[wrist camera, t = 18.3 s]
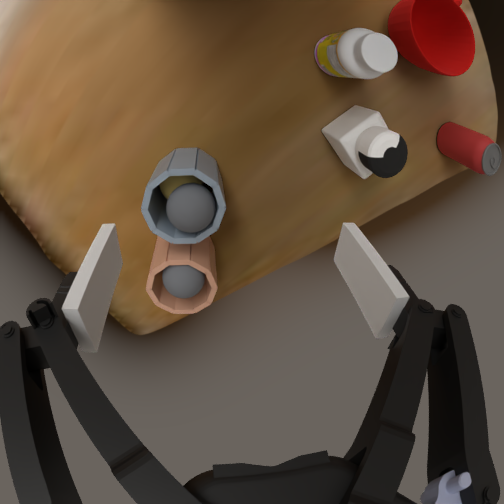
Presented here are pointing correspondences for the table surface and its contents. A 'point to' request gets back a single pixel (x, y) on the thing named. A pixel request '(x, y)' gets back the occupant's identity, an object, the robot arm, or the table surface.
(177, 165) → the slate tube
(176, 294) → the charcoal ball
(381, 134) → the medicine bottle
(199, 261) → the terracotta tube
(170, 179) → the ochre ball
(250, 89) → the table surface
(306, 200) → the table surface
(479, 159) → the beer can
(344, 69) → the supplement bottle
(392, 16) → the ceramic cup
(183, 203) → the charcoal ball
